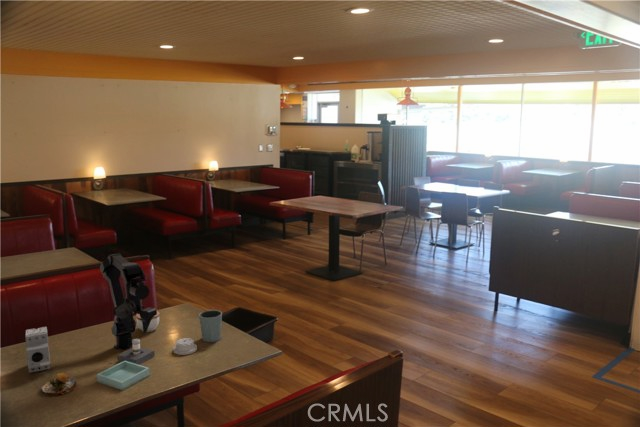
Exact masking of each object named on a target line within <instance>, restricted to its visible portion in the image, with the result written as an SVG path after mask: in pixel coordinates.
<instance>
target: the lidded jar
mask: <svg viewBox="0 0 640 427" xmlns="http://www.w3.org/2000/svg"><path fill="white" fill-rule="evenodd" d="M140 318H141V317H140V314H135V319H136V320H135V322H136V326H137V327H138V329H139V330H141V331H142V332H143V333H144V331H143V324H142V321H141V320H140ZM159 323H160V312H159V311H158V310H157V315H155V316H154V317H153V318H152V320H151V322H150V324H149V327H148V329H147V332H146V333H149V332H154V331H155V330H156V329H157V327H158V326H159Z"/></svg>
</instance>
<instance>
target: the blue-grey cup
mask: <svg viewBox="0 0 640 427" xmlns="http://www.w3.org/2000/svg"><path fill="white" fill-rule="evenodd" d="M198 317H199V324H200V330H201V331H200V332H201V339H202V341H203V342H205V343H215V342H218V341H220V340H221V339H222V322H223V321H222V320H223V319H222V318H223V312H222V311H221V310H218V309H207V310H203V311H201V312H200V313H199V314H198Z"/></svg>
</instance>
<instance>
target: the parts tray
mask: <svg viewBox="0 0 640 427" xmlns="http://www.w3.org/2000/svg"><path fill="white" fill-rule="evenodd" d="M150 370H151V369H150V367H147V366H144V365H141V364H139V365H138V364H135V363H131V362H128V361H123V362H122V361H120V362H119V363H117V364H115V365H113V366H111V367H108V368H107V369H105V370H103V371H101V372H99V373H96V382H97V383H99V384H102V385H105V386H108V387H111V388H115V389H116V390H120V391H124V390H125V389H128V388H130V387H131V386H133V385H135V384H137V383H139V382H141V381H142V380H144V379H146V378H147V377H149V376H150V375H151V371H150Z"/></svg>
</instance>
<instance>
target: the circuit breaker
mask: <svg viewBox="0 0 640 427" xmlns="http://www.w3.org/2000/svg"><path fill="white" fill-rule="evenodd" d="M48 334H49V333H48V327H47V326H42V327H38V328H30V329H29V328H28V329H26V330H25V344H26V346H25V347H26V348H25V349H26V350H25V352H26V359H27V369H28V373H30V372H31V373H35V372H36V373H37V372H41V371H46V369H47V370H50V369H51V360H50V359H51V358H50V348H49V337H48ZM39 368H40V369H39Z"/></svg>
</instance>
